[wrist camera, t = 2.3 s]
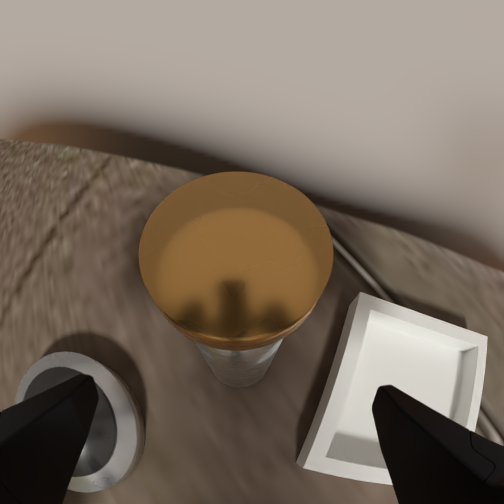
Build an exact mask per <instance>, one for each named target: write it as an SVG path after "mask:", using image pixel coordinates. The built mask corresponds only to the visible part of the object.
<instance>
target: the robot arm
mask: <svg viewBox="0 0 504 504" xmlns="http://www.w3.org/2000/svg"><path fill="white" fill-rule="evenodd" d="M98 401H99V394H98V391H97V388H96V384H95V381H94V378H93V377H92V376H91V375H87V374H78V375H76V376H74V377H72V378H70V379H68V380H66V381H64V382H62V383H60V384H58V385H56V386H54V387H52V388H50V389H48V390H46V391H44V392H41V393H39V394H37V395H35V396H33V397H31V398H29V399H27V400H25V401H22V402H20V403H18V404H16V405H14V406H12V407H9V408H7V409H5V410H3V411H2V412H0V504H62V503H63V500H64V497H65V494H66V491H67V489H68V486H69V483H70V481H71V478H72V475H73V473H74V470H75V468H76V465H77V463H78V460H79V458H80V455H81V453H82V450H83V448H84V445H85V443H86V440H87V438H88V435H89V432H90V428H91V425H92V421H93V418H94V414H95V411H96V408H97V405H98ZM372 414H373V418H374V422H375V427H376V431H377V436H378V440H379V445H380V449H381V452H382V455H383V458H384V460H385V463H386V466H387V469H388V472H389V475H390V478H391V481H392V484H393V487H394V490H395V493H396V496H397V499H398V503H399V504H504V446H502V445H499V444H497V443H495V442H492V441H490V440H488V439H486V438H484V437H482V436H480V435H478V434H477V433H475V432H473V431H471V430H470V431H469V429H467V428H465V427H464V426H462V425H460V424H458V423H457V422H455V421H453V420H451V419H449V418H448V417H446V416H444V415H442V414H441V413H439V412H437V411H435V410H434V409H432V408H430V407H428V406H427V405H425V404H423V403H421V402H420V401H418V400H416V399H415V398H413V397H411V396H410V395H408V394H406V393H404V392H403V391H401V390H399V389H398V388H396V387H394V386H393V385H382V386H379V387H378V389H377V392H376V395H375V398H374V401H373V404H372Z"/></svg>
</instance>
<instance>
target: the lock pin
mask: <svg viewBox="0 0 504 504" xmlns="http://www.w3.org/2000/svg"><path fill="white" fill-rule="evenodd" d="M332 265H333V243H332V238H331V234H330V231H329V228H328V226H327V224H326V221H325V219H324V218H323V216H322V215H321V213H320V211H319V210H318V209H317V208H316V206H315V205H314V204H313V203H312V202H311V201H310V200H309V199H308V198H307V197H306V196H305V195H303V194H302V193H301V192H300V191H298V190H297V189H295V188H294V187H292V186H290V185H289V184H287V183H285V182H283V181H280V180H278V179H275V178H272V177H269V176H266V175H262V174H257V173H250V172H223V173H216V174H211V175H208V176H204V177H201V178H198V179H195V180H193V181H191V182H189V183H187V184H184V185H183V186H181V187H179V188H178V189H176V190H175V191H173V192H172V193H171V194H170V195H168V196H167V197H166V198H165V199H164V200H163V201H162V202H161V203H160V204H159V205H158V206H157V207H156V209H155V210H154V211H153V212H152V214H151V216H150V217H149V219H148V221H147V223H146V225H145V227H144V230H143V232H142V236H141V240H140V245H139V266H140V271H141V276H142V278H143V281H144V284H145V286H146V288H147V290H148V292H149V294H150V295H151V297H152V299H153V300H154V302H155V303H156V305H157V306H158V308H159V309H160V311H161V312H162V314H163V315H164V316H165V318H166V319H167V320H168V321H169V323H170V324H171V325H172V326H174V327H175V328H176V329H177V330H178V331H179V332H180V333H182V334H183V335H185V336H186V337H188V338H189V339H191V340H193V341H195V343H196V345H197V347H198V348H199V350H200V352H201V353H202V355H203V357H204V359H205V360H206V362H207V364H208V365H209V367H210V369H211V370H212V372H213V373H214V375H215V376H216V378H217V379H218V380H219V381H221V382H222V383H224V384H225V385H227V386H230V387H234V388H245V387H249V386H252V385H254V384H256V383H257V382H259V381H260V380H261V379H262V378H263V377H264V375H265V374H266V372H267V370H268V368H269V366H270V364H271V362H272V360H273V358H274V356H275V354H276V352H277V350H278V348H279V346H280V344H281V342H282V340H283V338H285V337H286V336H288V335H289V334H290V333H292V332H293V331H295V330H296V329H297V328H298V327H299V326H300V325H301V324H302V323H303V322H304V321H305V320H306V318H307V317H308V316H309V314H310V313H311V311H312V310H313V308H314V306H315V304H316V303H317V301H318V299H319V298H320V296H321V294H322V292H323V290H324V289H325V287H326V285H327V283H328V280H329V277H330V274H331V270H332Z"/></svg>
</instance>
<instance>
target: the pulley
mask: <svg viewBox="0 0 504 504" xmlns="http://www.w3.org/2000/svg"><path fill="white" fill-rule="evenodd" d="M78 374H87V375H91V376H92V377H93V378H94V381H95V384H96V388H97V391H98V394H99V401H98V405H97V408H96V411H95V414H94V418H93V421H92V425H91V428H90V432H89V435H88V438H87V440H86V443H85V445H84V448H83V450H82V453H81V455H80V458H79V460H78V463H77V465H76V468H75V470H74V473H73V475H72V478H71V481H70V483H69V486H68V489H69V490H72V491H76V492H84V493H86V492H96V491H101V490H103V489H106V488H108V487H111V486H113V485H116V484H118V483H120V482H122V481H123V480H125V479H126V478H127V477H128V476H129V475H131V474H132V472H133V471H134V470H135V468H136V467H137V465H138V463H139V461H140V459H141V456H142V454H143V449H144V445H145V426H144V420H143V415H142V412H141V409H140V406H139V404H138V402H137V399H136V397H135V396H134V394H133V392H132V391H131V389H130V388H129V386H128V385H127V384H126V383H125V381H124V380H123V379H122V378H121V377H120V376H119V375H118V374H117V373H115V372H114V371H113V370H111V369H110V368H108V367H107V366H105V365H103V364H101V363H99V362H97V361H95V360H93V359H91V358H90V357H88V356H85V355H82V354H79V353H75V352H56V353H52V354H49V355H47V356H44V357H43V358H41V359H39V360H38V361H37V362H35V363H34V364H33V365H32V366H31V367H30V368H29V370H28V371H27V372H26V374H25V375H24V377H23V379H22V381H21V383H20V385H19V388H18V391H17V396H16V402H15V405H16V404H18V403H20V402H22V401H25V400H27V399H29V398H31V397H33V396H35V395H37V394H39V393H41V392H44V391H46V390H48V389H50V388H52V387H54V386H56V385H58V384H60V383H62V382H64V381H66V380H68V379H70V378H72V377H74V376H76V375H78Z"/></svg>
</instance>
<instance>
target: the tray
mask: <svg viewBox="0 0 504 504" xmlns="http://www.w3.org/2000/svg"><path fill="white" fill-rule="evenodd" d="M486 352H487V336H484V335H481V334H478V333H475V332H473V331H470V330H467V329H464V328H461V327H458V326H456V325H453V324H450V323H447V322H444V321H441V320H439V319H436V318H433V317H430V316H427V315H424V314H422V313H419V312H416V311H413V310H410V309H407V308H405V307H402V306H399V305H396V304H393V303H391V302H388V301H385V300H382V299H379V298H376V297H374V296H371V295H368V294H365V293H362V292H360V293H359V294H358V295H357V297H356V298H355V299H354V300H353V301H352V303H351V304H350V305H349V308H348V312H347V315H346V319H345V323H344V326H343V330H342V333H341V337H340V340H339V344H338V347H337V350H336V354H335V357H334V360H333V363H332V367H331V370H330V373H329V376H328V379H327V382H326V385H325V388H324V391H323V394H322V396H321V399H320V402H319V405H318V408H317V410H316V413H315V416H314V419H313V421H312V424H311V426H310V429H309V432H308V434H307V437H306V439H305V442H304V444H303V447H302V449H301V451H300V454H299V456H298V459H297V461H296V463H297V464H298V465H300V466H301V467H302V468H305V469H309V470H313V471H317V472H321V473H325V474H330V475H335V476H339V477H345V478H350V479H355V480H361V481H367V482H374V483H381V484H390V485H393V484H392V481H391V478H390V475H389V472H388V469H387V466H386V463H385V460H384V458H383V455H382V452H381V449H380V445H379V440H378V436H377V431H376V427H375V422H374V418H373V414H372V404H373V401H374V398H375V395H376V392H377V389H378V387H379V386H382V385H393V386H394V387H396V388H398V389H399V390H401V391H403V392H404V393H406V394H408V395H410V396H411V397H413V398H415V399H416V400H418V401H420V402H421V403H423V404H425V405H427V406H428V407H430V408H432V409H434V410H435V411H437V412H439V413H441V414H442V415H444V416H446V417H448V418H449V419H451V420H453V421H455V422H457V423H458V424H460V425H462V426H464V427H465V428H467V429H469V431H470V430H471V431H473V432H474V431H475V427H476V422H477V417H478V412H479V407H480V401H481V395H482V388H483V381H484V373H485V364H486Z"/></svg>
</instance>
